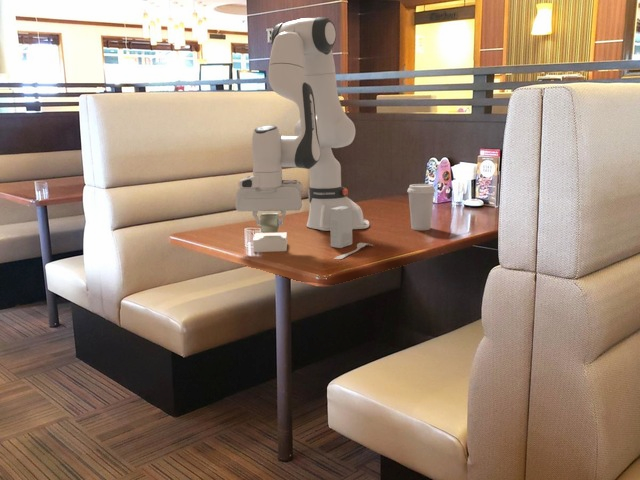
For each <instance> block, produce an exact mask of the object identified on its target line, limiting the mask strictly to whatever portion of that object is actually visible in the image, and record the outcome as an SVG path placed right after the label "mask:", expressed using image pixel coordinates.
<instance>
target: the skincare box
mask: <svg viewBox="0 0 640 480" xmlns="http://www.w3.org/2000/svg"><path fill="white" fill-rule="evenodd" d="M329 234H330V235H329V236H330V247H331V248H337V249H342V248H345V247H348V246H351V245H353V229H352V207H348V206H340V207H336V208H332V209H330V233H329Z"/></svg>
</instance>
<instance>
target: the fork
mask: <svg viewBox="0 0 640 480" xmlns="http://www.w3.org/2000/svg"><path fill="white" fill-rule="evenodd" d="M368 245H369V246H370V245H371V247H374V245H373V244H371V243H369V242H368V243H365V242H359V243H357V244H356V247H357V248H355V250H352V251H350V252H346V253H343V254H340V255H338V256H335V257H334V258H333V260H334V259H342V260H343V259H344V258H347V257H348V256H350V255H351V254H354V253H356V252H358V251H360V249H361V248H364V247H365V246H368Z"/></svg>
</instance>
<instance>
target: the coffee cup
mask: <svg viewBox="0 0 640 480" xmlns="http://www.w3.org/2000/svg"><path fill="white" fill-rule="evenodd" d="M406 191H407V193H408V201H409V204H408V205H409V211H410V212H409V215H410V226H411V230H414V231H428V230H431V227H432V226H431V225H432V217H433V216H432V215H433V207H434V206H433V205H434V196H435V193H436V189H435V187H434V185H433V184H430V183H414V184H409V187H408V188H407V190H406Z"/></svg>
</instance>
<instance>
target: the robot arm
mask: <svg viewBox="0 0 640 480" xmlns="http://www.w3.org/2000/svg"><path fill="white" fill-rule="evenodd" d="M336 30H337V29H336V27H335V24H334V22H333V21H332V20H331V19H330V18H328V17H325V16H317V17H303V18H299V19H294V20H290V21H283V22H281V23H278V24H276V25H275V26H274V27H273V30H272V32H271V36H270V39H271V40H270V42H271V45H272V46H271V49H270V57H269V61H268V62H269V63H268V84H269V86H270V88H271V89H272V91H273V92H275V94H277V95H279V96H281V97H282V98H285V99H287V100H290V101H292V102H294V103H295V104H296V105H297V107H298V110H299V120H298V121H297V122H296V123H295V126H294V135H283V134H281V133H280V131H279V128H278V127H277V126H276V125H263V126H258V127H256V128H255V129H254V130H253V133H252V137H251V157H252V161H253V167H252V175H248V176H246V177H244V178H242V179H240V180H239V181H238V190H237V191H236V194H235V210H236V211H237V212H252V216H253V217H254V219H255V221H256V226H260V227H261V223H260V217H259V215H258V214H259V212H280V215H281V217H280V218H279V219H278V220H277V222H278V225H279V226H283V224H284V221H283V220H284V218H285V216H286V214H287V211H288V212H289V211H290V212H291V211H296V212H298V211H300V210H301V209H302V207H303V202H302V200H303V199H302V195H301V194H302V193H303V183H301V182H300V181H299V180H297V179H293V180H292V179H283V168H299V169H306V170H309V172H308V173H309V187H308V201H309V211H308V218H307V223H306V227H307V228H310V229H315V230H320V231H323V232H325V231H330V209H332V208H336V207H340V206H348V207H352V230H363V229H367V228H369V227H370V221H369V220H368V219H366V218H364V213H363V210H362V208H361V207H360V206H359V204H357V203H356V202H354V201H353V200H352V199H351V198H349V197H348V194H349V190H348V189H347V188H346V187H344V186H342V174H341V173H342V166H341V163H340V161H338V160H337V159H336V158H335V156H334V153H333V150H332V149H339V148H344V147H347V146H350V144H352V143H353V141H354V139H355V137H356V127H355V123H354V122H353V121H352V120H351V118H349V116H347V114H346V112H345V111H344V109H343V107H342V103H341V101H340V98H339V94H338V86H337V85H338V84H337V75H336V64H335V59H334V55H333V54H334V53H333V50H332V49H333V48H334V46H335V43H336V40H337V31H336ZM282 167H283V168H282Z"/></svg>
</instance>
